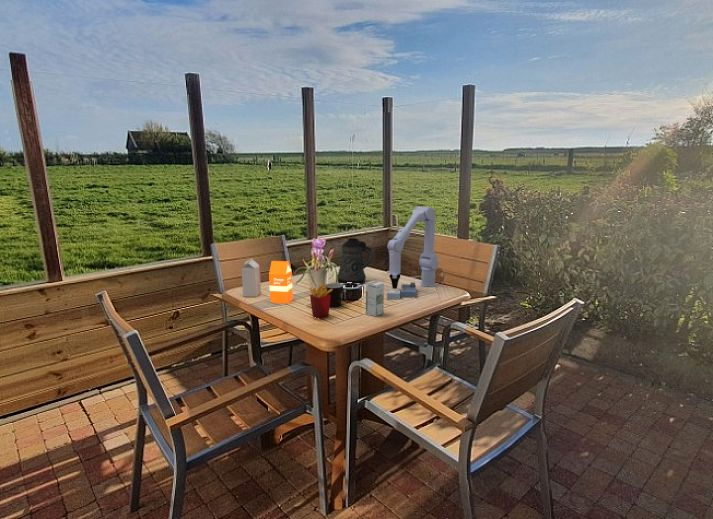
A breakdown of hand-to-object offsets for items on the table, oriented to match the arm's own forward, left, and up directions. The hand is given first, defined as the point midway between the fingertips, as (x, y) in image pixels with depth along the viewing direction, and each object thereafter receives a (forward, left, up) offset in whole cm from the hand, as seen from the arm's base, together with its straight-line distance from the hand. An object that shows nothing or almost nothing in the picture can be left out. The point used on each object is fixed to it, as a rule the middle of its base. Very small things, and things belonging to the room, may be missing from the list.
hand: (394, 288), depth 220 cm
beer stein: (-21, -24, -3) cm, 32 cm away
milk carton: (+11, -73, -3) cm, 74 cm away
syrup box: (+34, -8, -3) cm, 35 cm away
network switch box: (+1, +7, -2) cm, 7 cm away
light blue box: (+9, 0, -2) cm, 9 cm away
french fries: (+40, -30, -3) cm, 50 cm away
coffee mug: (+23, -27, -3) cm, 36 cm away
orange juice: (+19, -55, -3) cm, 58 cm away
